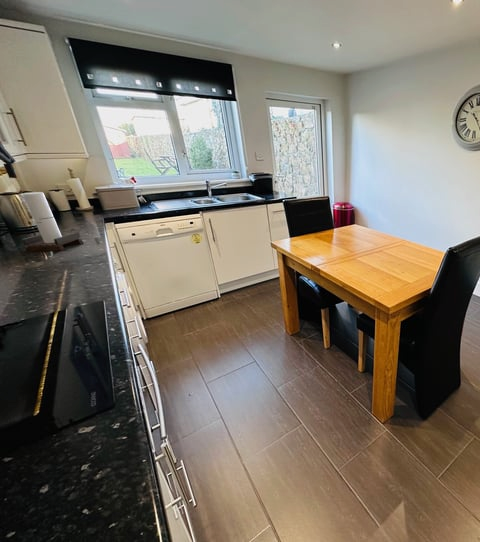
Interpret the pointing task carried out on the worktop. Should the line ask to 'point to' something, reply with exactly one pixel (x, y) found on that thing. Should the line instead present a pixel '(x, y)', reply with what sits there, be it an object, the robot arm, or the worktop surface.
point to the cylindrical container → (42, 216)
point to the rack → (39, 245)
